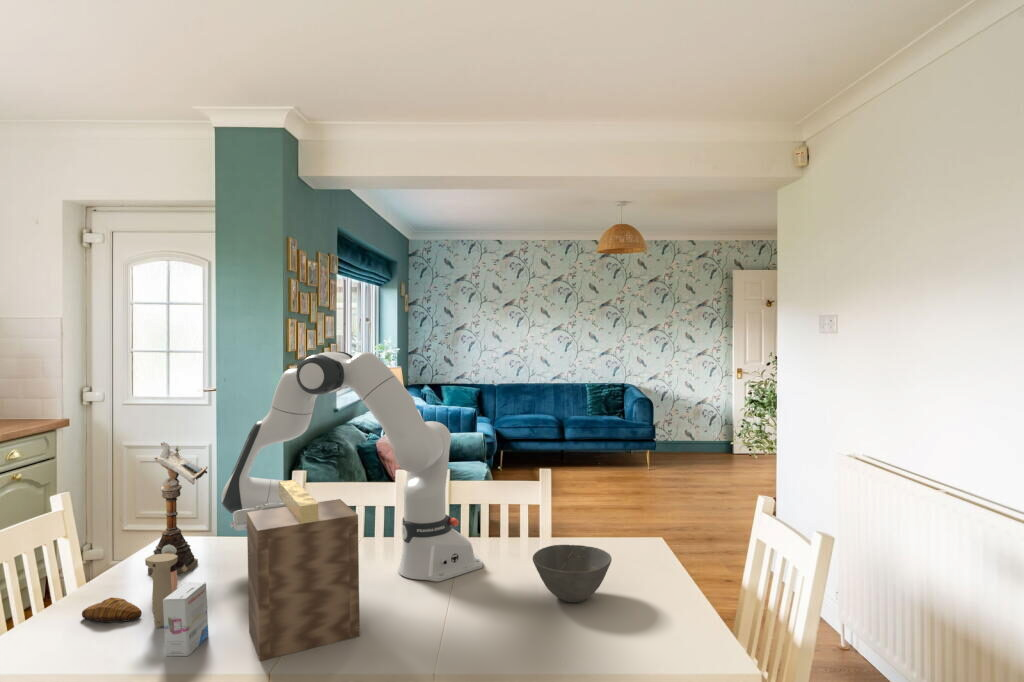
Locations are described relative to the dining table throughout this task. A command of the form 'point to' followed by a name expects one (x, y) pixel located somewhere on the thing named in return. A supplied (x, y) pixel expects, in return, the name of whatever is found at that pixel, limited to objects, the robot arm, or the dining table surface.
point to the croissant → (112, 611)
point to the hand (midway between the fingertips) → (280, 506)
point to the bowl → (572, 570)
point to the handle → (160, 583)
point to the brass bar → (298, 501)
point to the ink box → (185, 619)
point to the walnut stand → (302, 579)
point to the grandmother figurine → (172, 550)
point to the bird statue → (170, 493)
